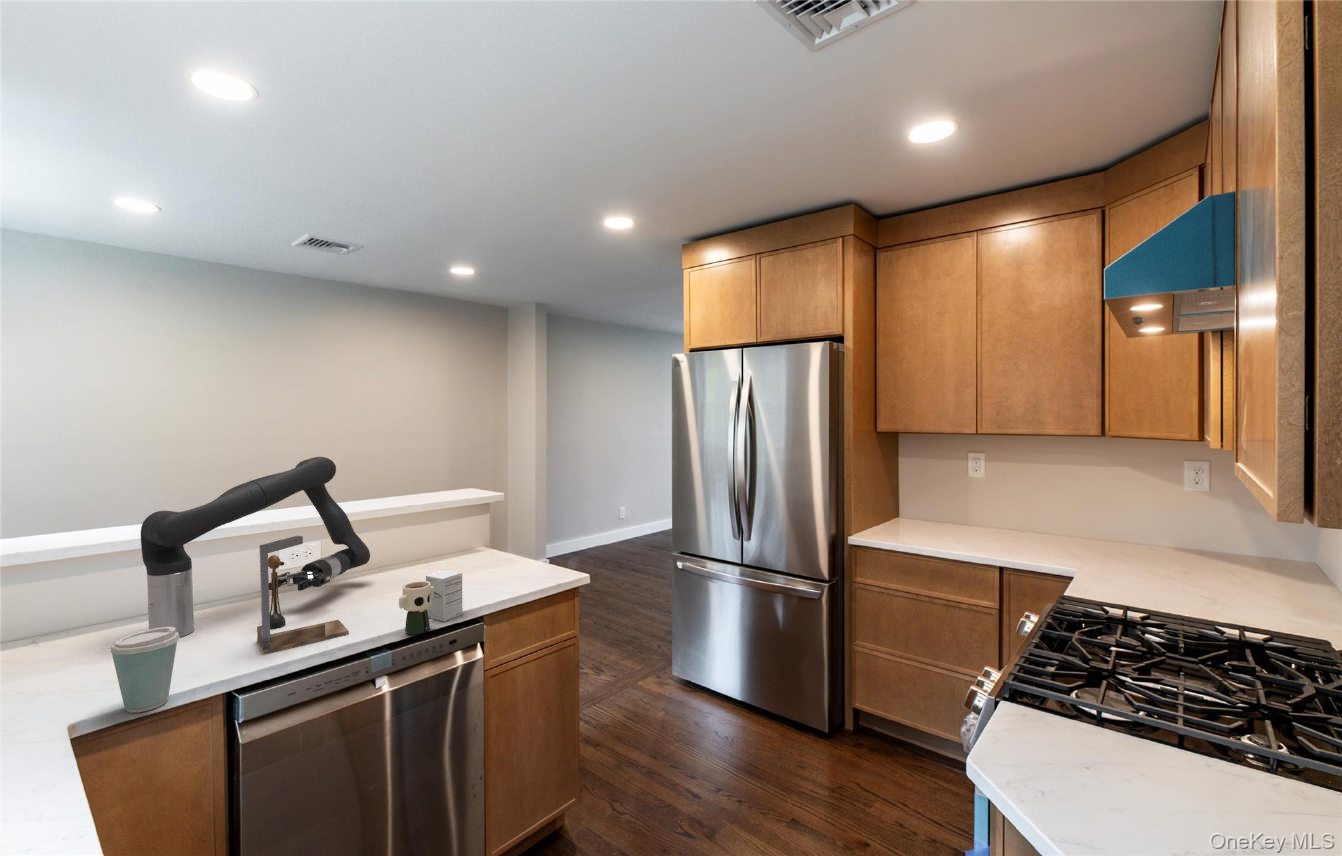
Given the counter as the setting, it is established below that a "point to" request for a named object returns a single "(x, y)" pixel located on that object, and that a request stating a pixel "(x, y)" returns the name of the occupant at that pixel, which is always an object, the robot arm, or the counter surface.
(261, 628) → the stand
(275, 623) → the wooden tabletop sculpture
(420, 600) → the character mug
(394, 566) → the counter surface
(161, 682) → the disposable coffee cup
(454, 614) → the supplement box
